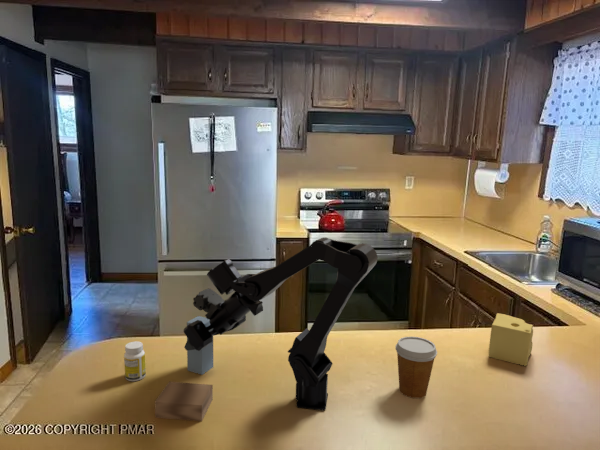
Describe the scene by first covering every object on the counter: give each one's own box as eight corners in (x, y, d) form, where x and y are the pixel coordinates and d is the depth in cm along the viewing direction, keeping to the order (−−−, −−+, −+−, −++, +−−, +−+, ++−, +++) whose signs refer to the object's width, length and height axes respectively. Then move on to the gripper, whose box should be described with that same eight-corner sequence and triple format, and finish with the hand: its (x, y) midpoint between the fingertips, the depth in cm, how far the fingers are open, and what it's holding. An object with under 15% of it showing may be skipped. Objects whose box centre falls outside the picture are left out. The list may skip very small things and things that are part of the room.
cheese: (531, 353, 129) (535, 320, 127) (527, 368, 120) (531, 333, 118) (492, 343, 134) (496, 312, 132) (486, 357, 125) (489, 323, 123)
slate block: (213, 366, 116) (213, 319, 113) (202, 374, 111) (201, 325, 109) (199, 362, 117) (198, 315, 115) (187, 370, 113) (186, 322, 111)
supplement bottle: (139, 369, 113) (137, 338, 111) (149, 376, 110) (148, 344, 108) (121, 377, 109) (119, 345, 108) (131, 384, 106) (130, 351, 105)
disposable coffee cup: (406, 376, 113) (409, 332, 111) (440, 392, 107) (445, 345, 105) (384, 390, 107) (387, 343, 105) (419, 407, 100) (424, 357, 98)
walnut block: (212, 400, 101) (212, 384, 100) (201, 422, 93) (201, 405, 92) (169, 397, 102) (169, 381, 101) (155, 418, 94) (154, 401, 93)
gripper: (236, 272, 116) (202, 304, 123) (189, 292, 100) (153, 328, 107) (262, 306, 115) (226, 337, 121) (218, 333, 98) (179, 367, 105)
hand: (197, 341), depth 113 cm, fingers open, 9 cm apart
